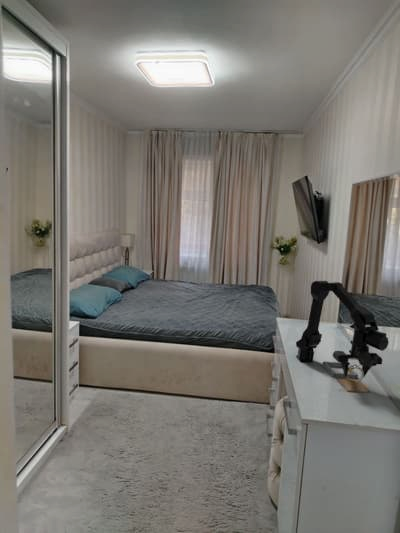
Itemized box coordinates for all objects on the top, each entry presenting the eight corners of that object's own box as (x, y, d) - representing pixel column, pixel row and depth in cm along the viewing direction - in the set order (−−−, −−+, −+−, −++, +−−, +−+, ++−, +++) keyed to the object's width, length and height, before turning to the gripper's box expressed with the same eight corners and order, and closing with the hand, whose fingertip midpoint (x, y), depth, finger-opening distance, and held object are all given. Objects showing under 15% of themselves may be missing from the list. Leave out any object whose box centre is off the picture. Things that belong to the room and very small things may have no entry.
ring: (344, 382, 153) (347, 364, 151) (344, 379, 156) (346, 361, 154) (362, 385, 151) (365, 367, 150) (361, 382, 154) (364, 364, 153)
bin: (333, 377, 160) (334, 373, 159) (322, 365, 172) (323, 361, 172) (357, 379, 160) (358, 374, 160) (344, 366, 173) (344, 362, 173)
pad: (346, 391, 148) (347, 390, 148) (336, 379, 158) (336, 378, 158) (370, 392, 149) (370, 391, 149) (358, 380, 159) (358, 379, 159)
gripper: (347, 347, 142) (341, 385, 144) (393, 350, 143) (386, 387, 146) (334, 337, 153) (329, 372, 155) (377, 339, 154) (371, 374, 157)
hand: (354, 376), depth 153 cm, fingers closed on ring, 7 cm apart
